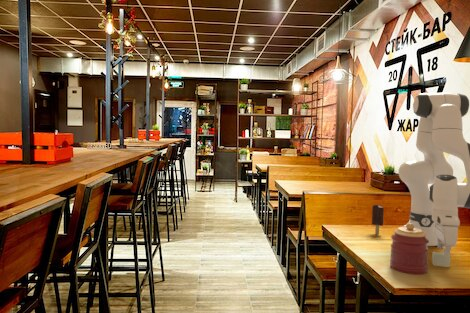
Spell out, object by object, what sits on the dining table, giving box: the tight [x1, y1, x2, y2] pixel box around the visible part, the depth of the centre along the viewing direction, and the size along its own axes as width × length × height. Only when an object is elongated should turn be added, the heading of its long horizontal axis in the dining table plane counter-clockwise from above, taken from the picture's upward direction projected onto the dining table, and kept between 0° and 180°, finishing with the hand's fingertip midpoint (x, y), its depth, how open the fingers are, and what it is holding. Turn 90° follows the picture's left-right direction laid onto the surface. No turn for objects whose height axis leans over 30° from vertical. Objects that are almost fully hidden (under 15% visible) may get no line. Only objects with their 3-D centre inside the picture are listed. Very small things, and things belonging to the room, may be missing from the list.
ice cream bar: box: [371, 204, 385, 235], centre depth 196 cm, size 5×2×15 cm, turn 62°
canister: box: [389, 222, 429, 275], centre depth 145 cm, size 13×13×18 cm
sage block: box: [431, 251, 451, 268], centre depth 151 cm, size 4×6×4 cm
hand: (443, 252), depth 150 cm, fingers open, 8 cm apart
